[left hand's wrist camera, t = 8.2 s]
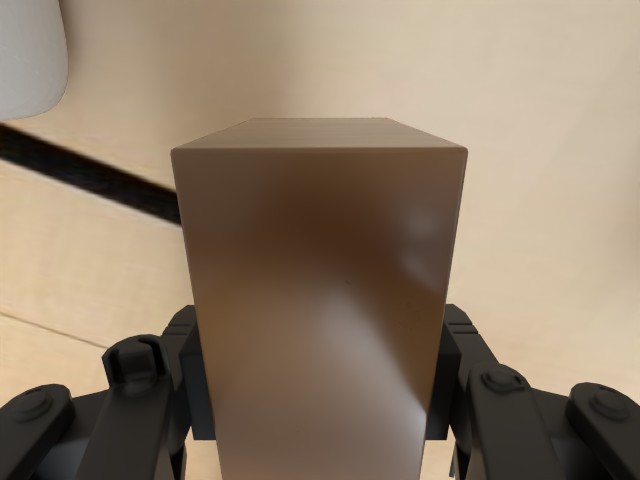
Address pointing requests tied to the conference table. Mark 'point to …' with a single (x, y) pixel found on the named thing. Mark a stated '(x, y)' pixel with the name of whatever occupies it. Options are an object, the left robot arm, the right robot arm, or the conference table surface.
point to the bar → (320, 290)
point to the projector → (31, 57)
